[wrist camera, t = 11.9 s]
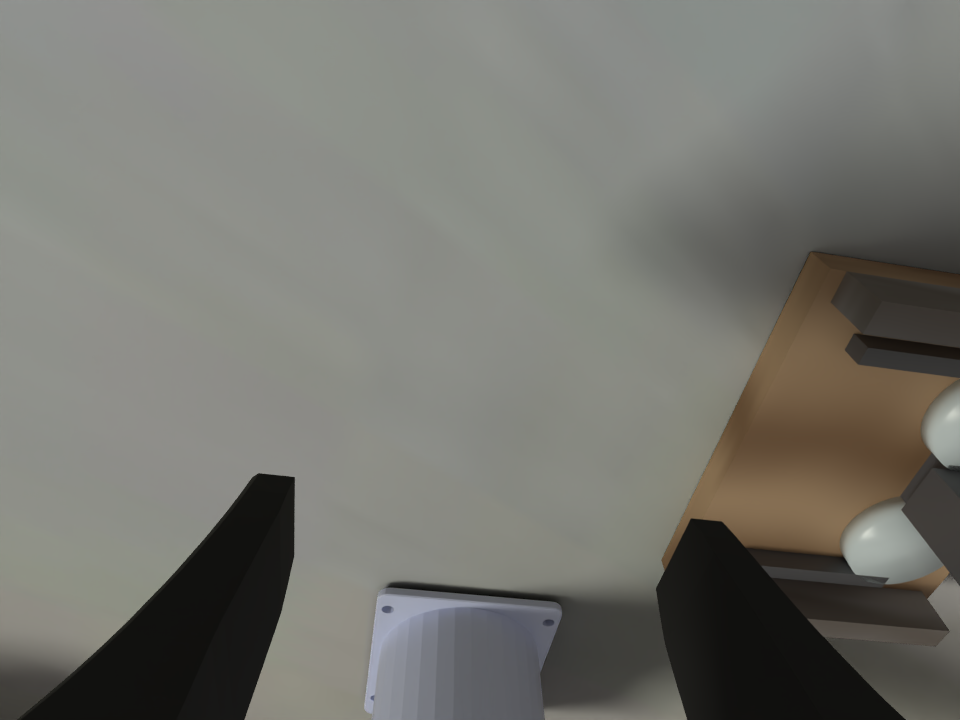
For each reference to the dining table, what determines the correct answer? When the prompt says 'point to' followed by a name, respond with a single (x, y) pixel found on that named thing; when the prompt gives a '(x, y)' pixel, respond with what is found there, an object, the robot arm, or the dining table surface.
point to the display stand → (834, 437)
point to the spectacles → (918, 510)
